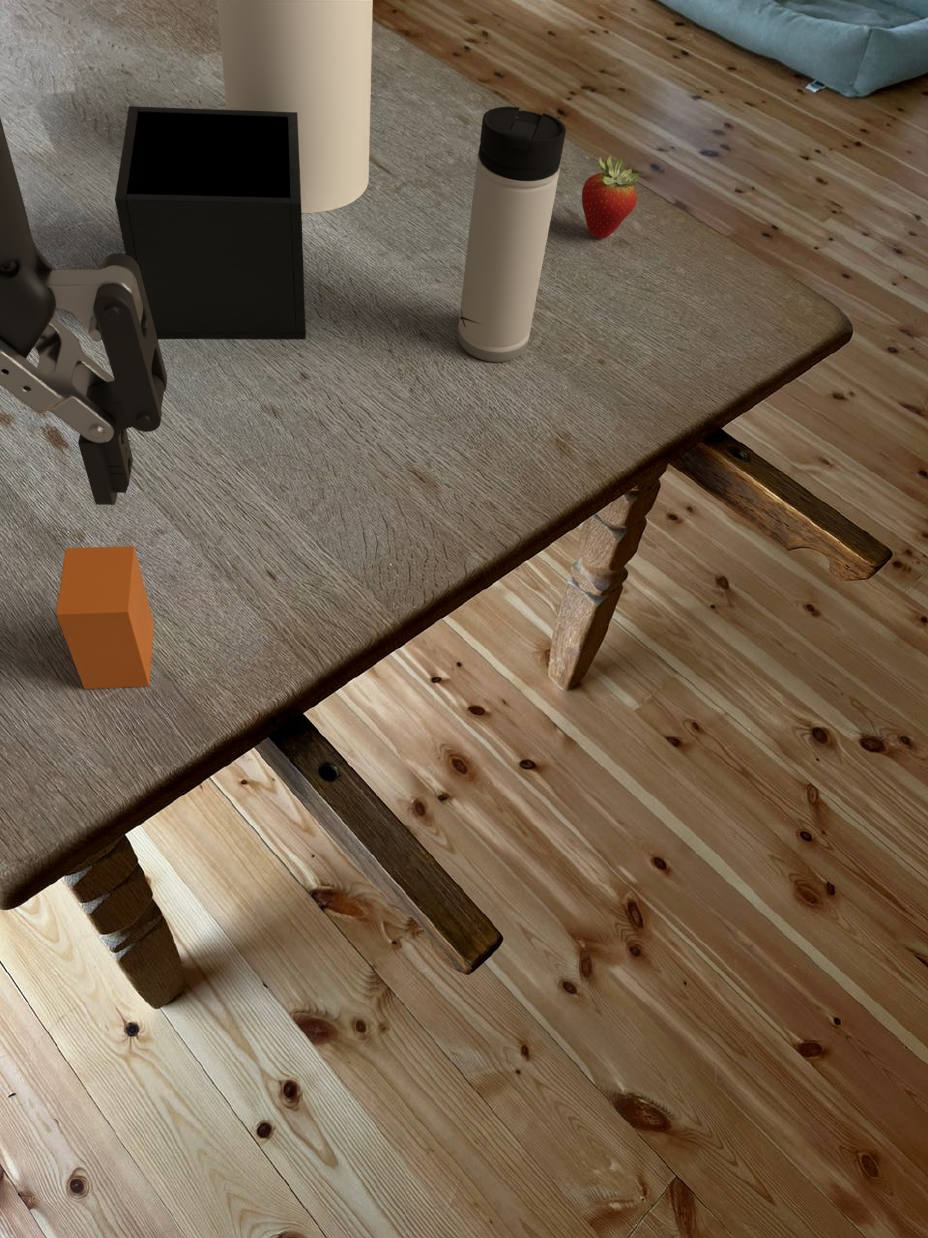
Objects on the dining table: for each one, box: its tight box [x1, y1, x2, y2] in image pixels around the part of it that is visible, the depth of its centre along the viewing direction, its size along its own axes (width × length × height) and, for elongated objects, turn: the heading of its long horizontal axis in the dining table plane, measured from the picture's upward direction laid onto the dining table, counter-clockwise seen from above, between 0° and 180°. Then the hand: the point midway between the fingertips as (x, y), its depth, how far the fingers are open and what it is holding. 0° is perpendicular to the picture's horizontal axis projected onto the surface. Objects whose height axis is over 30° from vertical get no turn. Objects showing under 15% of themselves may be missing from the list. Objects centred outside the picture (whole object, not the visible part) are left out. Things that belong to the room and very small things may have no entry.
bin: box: [114, 105, 307, 340], centre depth 84 cm, size 14×14×13 cm
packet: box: [55, 545, 155, 690], centre depth 62 cm, size 4×5×8 cm
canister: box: [216, 0, 374, 214], centre depth 93 cm, size 14×14×20 cm
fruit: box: [581, 155, 640, 240], centre depth 97 cm, size 5×5×8 cm
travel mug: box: [457, 105, 567, 363], centre depth 81 cm, size 6×7×20 cm
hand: (1, 487), depth 41 cm, fingers open, 8 cm apart
